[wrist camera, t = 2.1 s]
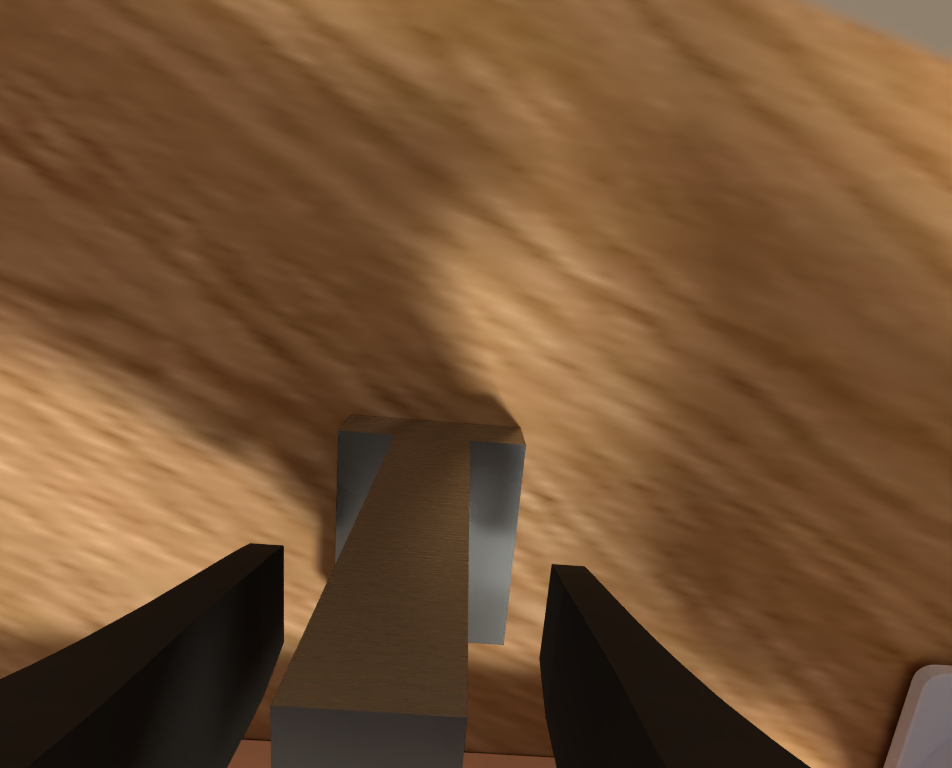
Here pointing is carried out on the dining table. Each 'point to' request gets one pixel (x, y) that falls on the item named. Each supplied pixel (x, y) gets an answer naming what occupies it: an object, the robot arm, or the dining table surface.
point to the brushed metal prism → (403, 596)
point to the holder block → (255, 764)
